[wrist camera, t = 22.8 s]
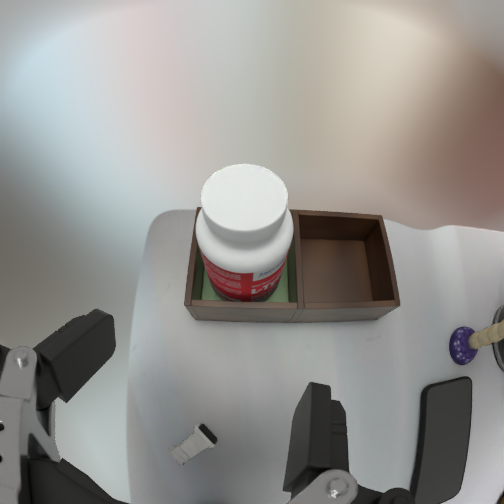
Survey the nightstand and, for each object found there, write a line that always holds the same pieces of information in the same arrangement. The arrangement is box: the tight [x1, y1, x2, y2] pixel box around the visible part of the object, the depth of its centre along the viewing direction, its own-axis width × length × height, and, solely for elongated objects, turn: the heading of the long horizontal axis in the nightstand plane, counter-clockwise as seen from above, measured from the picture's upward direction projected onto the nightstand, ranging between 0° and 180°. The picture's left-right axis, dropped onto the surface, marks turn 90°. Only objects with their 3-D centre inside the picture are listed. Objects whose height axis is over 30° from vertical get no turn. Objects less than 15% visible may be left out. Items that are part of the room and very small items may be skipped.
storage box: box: [184, 207, 400, 323], centre depth 23 cm, size 16×8×4 cm, turn 89°
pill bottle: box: [196, 164, 293, 302], centre depth 19 cm, size 6×6×11 cm
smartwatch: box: [168, 423, 217, 465], centre depth 16 cm, size 4×2×4 cm, turn 132°
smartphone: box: [411, 377, 472, 504], centre depth 16 cm, size 7×1×15 cm
